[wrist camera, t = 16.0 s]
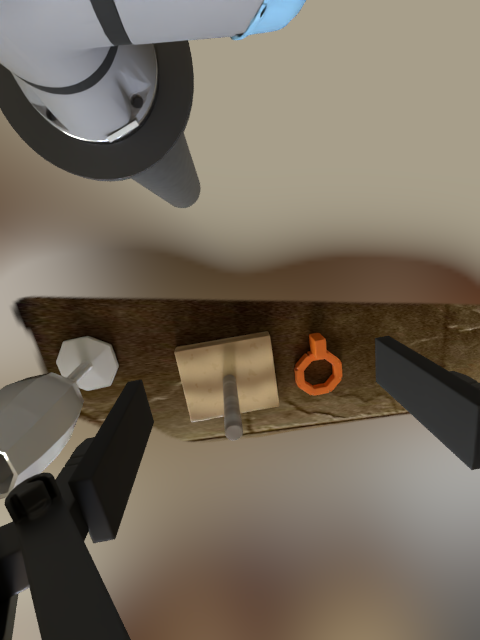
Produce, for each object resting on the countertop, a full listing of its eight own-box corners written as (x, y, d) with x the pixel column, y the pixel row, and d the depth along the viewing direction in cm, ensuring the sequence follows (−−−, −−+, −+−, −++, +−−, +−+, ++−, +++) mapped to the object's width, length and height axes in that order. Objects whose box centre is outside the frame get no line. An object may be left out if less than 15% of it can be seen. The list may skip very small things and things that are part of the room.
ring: (290, 337, 44) (295, 344, 41) (336, 329, 45) (345, 335, 42) (296, 394, 47) (302, 404, 44) (340, 386, 48) (348, 396, 45)
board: (176, 346, 43) (158, 397, 30) (267, 330, 44) (290, 373, 30) (192, 414, 47) (182, 486, 33) (276, 399, 47) (300, 464, 34)
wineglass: (57, 331, 41) (-94, 423, 21) (120, 337, 42) (33, 430, 22) (60, 386, 44) (-73, 515, 24) (119, 390, 45) (40, 517, 25)
